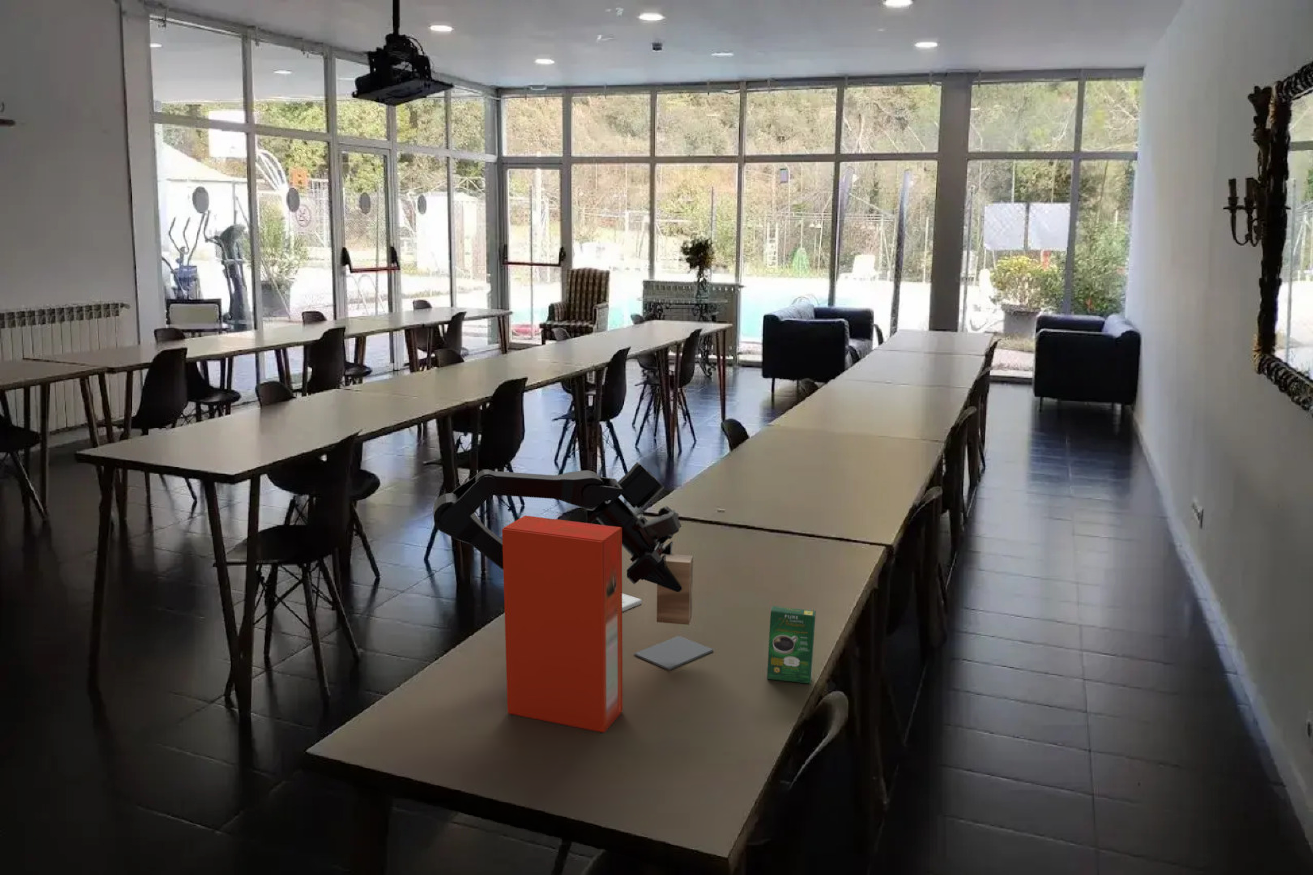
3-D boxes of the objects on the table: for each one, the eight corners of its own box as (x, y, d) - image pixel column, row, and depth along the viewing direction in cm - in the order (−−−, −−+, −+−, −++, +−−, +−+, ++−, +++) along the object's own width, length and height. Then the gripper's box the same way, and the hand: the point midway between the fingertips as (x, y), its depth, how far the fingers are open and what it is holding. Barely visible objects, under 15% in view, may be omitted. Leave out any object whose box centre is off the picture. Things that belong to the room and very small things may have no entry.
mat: (668, 670, 185) (668, 668, 185) (634, 655, 191) (634, 653, 191) (713, 651, 193) (713, 649, 193) (678, 637, 199) (678, 635, 199)
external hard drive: (572, 613, 213) (613, 596, 222) (601, 623, 208) (641, 606, 217) (572, 606, 212) (613, 589, 222) (601, 615, 207) (641, 598, 217)
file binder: (602, 734, 162) (601, 541, 155) (506, 714, 168) (502, 528, 161) (622, 711, 169) (622, 526, 162) (530, 694, 175) (526, 514, 168)
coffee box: (813, 678, 182) (816, 608, 179) (812, 685, 179) (815, 614, 177) (768, 673, 184) (770, 604, 181) (766, 680, 181) (768, 610, 178)
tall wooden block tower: (688, 624, 188) (689, 562, 185) (656, 622, 189) (657, 560, 186) (691, 616, 192) (693, 555, 189) (660, 614, 193) (661, 553, 190)
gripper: (645, 511, 177) (706, 576, 178) (663, 484, 195) (719, 543, 196) (601, 551, 180) (661, 615, 181) (623, 521, 198) (678, 579, 199)
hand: (682, 586), depth 189 cm, fingers closed on tall wooden block tower, 4 cm apart
